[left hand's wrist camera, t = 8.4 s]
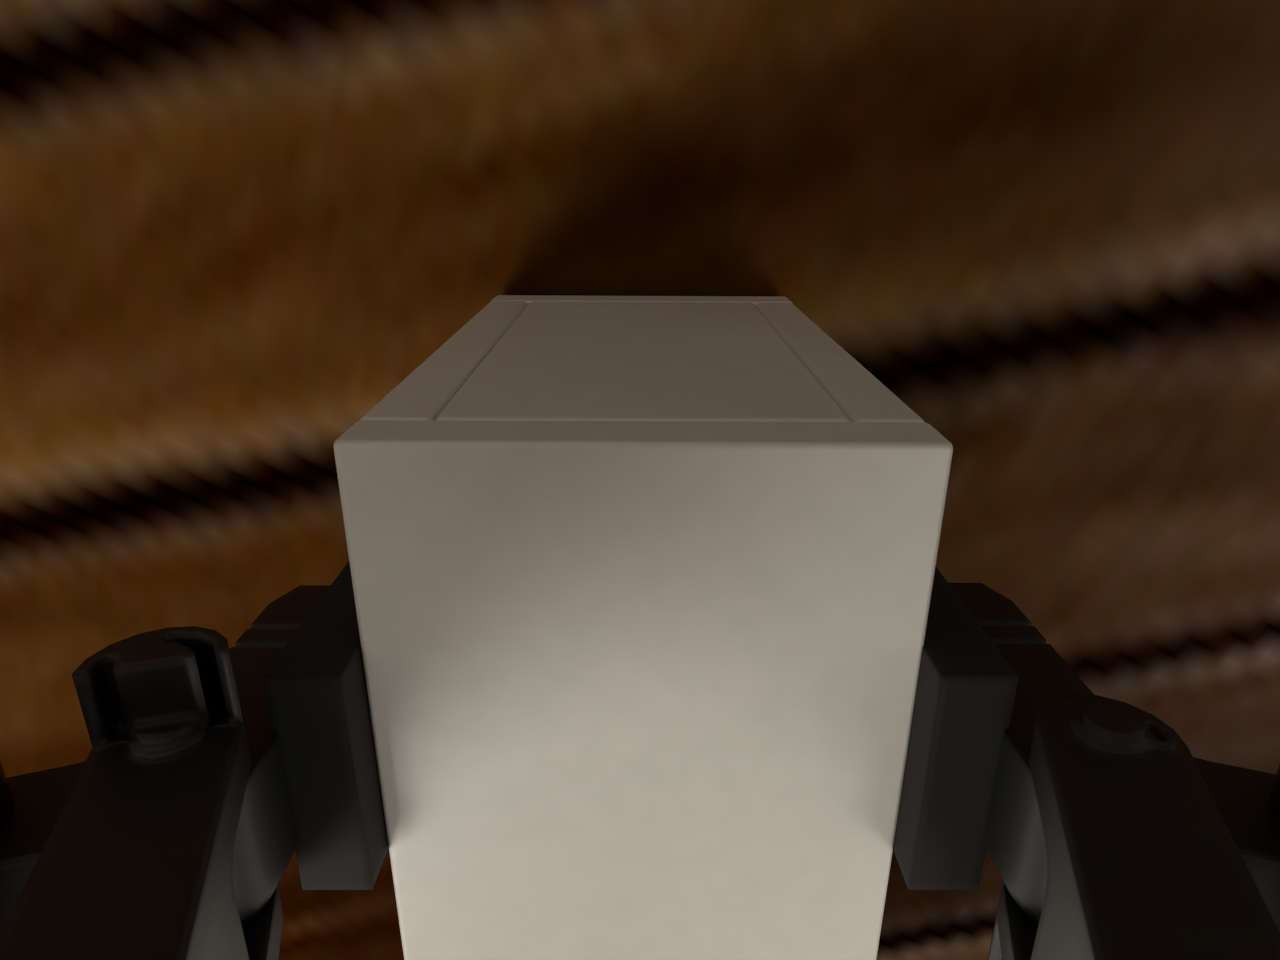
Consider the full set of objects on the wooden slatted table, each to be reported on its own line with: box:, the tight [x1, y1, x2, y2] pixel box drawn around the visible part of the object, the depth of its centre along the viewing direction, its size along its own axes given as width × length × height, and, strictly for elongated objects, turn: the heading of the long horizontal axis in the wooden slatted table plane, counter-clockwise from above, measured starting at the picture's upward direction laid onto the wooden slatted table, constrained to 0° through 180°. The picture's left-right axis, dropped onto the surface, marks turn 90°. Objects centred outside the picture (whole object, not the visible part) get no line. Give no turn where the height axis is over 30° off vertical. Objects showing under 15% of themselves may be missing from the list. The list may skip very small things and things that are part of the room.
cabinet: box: [334, 295, 953, 960], centre depth 16 cm, size 22×6×9 cm, turn 0°
